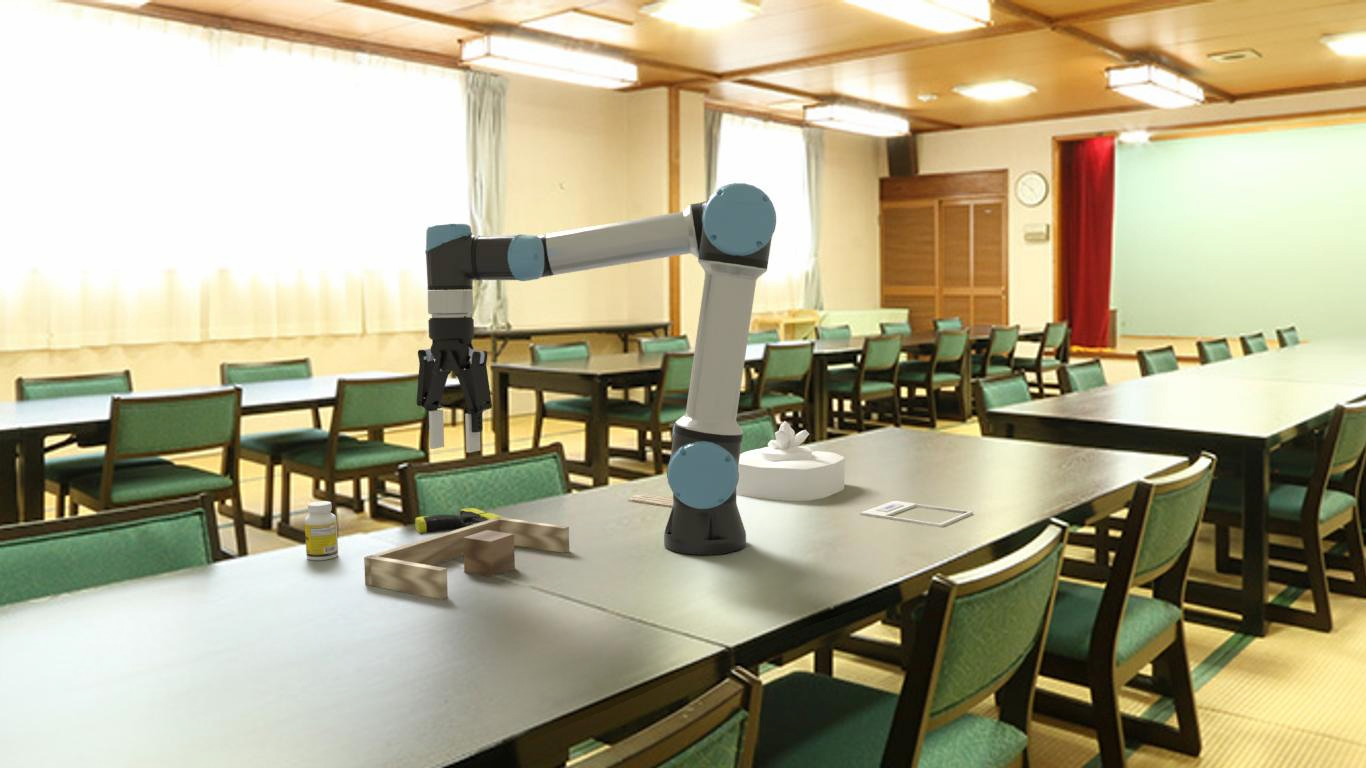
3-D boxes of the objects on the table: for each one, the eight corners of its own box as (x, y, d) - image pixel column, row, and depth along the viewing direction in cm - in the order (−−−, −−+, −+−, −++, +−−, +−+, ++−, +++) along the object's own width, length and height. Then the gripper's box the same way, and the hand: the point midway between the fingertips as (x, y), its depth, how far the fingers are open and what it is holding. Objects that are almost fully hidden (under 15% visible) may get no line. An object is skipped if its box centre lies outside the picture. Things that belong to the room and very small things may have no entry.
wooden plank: (628, 504, 233) (628, 496, 233) (647, 499, 239) (647, 491, 239) (717, 517, 220) (716, 508, 220) (735, 511, 225) (735, 503, 225)
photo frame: (894, 499, 229) (972, 510, 217) (894, 504, 229) (972, 516, 218) (860, 511, 218) (941, 523, 206) (860, 516, 218) (940, 529, 206)
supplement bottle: (310, 553, 190) (308, 500, 190) (341, 552, 191) (339, 499, 190) (302, 561, 185) (300, 506, 184) (334, 560, 186) (331, 506, 185)
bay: (569, 551, 191) (568, 526, 190) (440, 599, 162) (440, 570, 162) (498, 540, 199) (498, 517, 198) (365, 584, 171) (364, 557, 170)
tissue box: (855, 485, 250) (856, 418, 248) (810, 504, 229) (811, 431, 227) (762, 475, 263) (762, 412, 262) (711, 493, 242) (711, 424, 241)
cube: (514, 568, 180) (513, 534, 179) (491, 577, 175) (490, 541, 174) (487, 563, 183) (487, 530, 182) (464, 572, 178) (463, 537, 177)
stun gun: (450, 534, 194) (522, 522, 203) (407, 516, 209) (476, 505, 218) (451, 549, 194) (522, 537, 204) (408, 530, 209) (476, 519, 219)
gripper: (512, 315, 176) (515, 450, 178) (422, 314, 186) (426, 442, 189) (482, 317, 170) (486, 457, 172) (390, 316, 180) (395, 448, 182)
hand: (455, 449), depth 180 cm, fingers open, 8 cm apart
